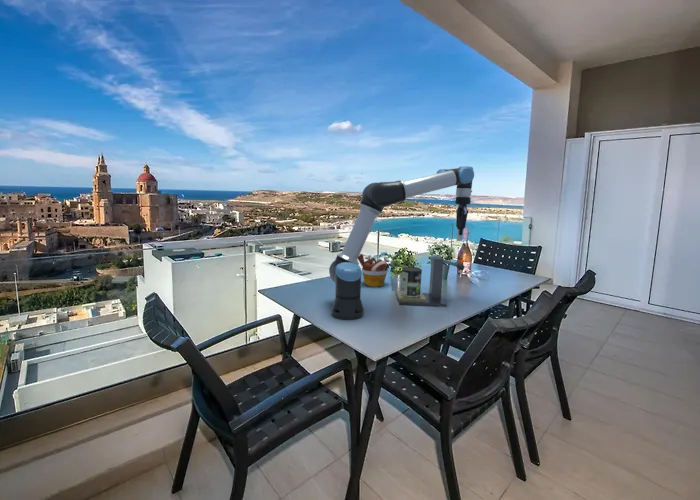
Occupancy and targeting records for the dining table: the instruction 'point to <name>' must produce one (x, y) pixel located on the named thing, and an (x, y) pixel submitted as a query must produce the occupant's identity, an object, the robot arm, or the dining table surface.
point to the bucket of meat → (374, 270)
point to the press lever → (452, 263)
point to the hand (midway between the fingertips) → (459, 240)
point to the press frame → (434, 291)
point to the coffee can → (411, 281)
